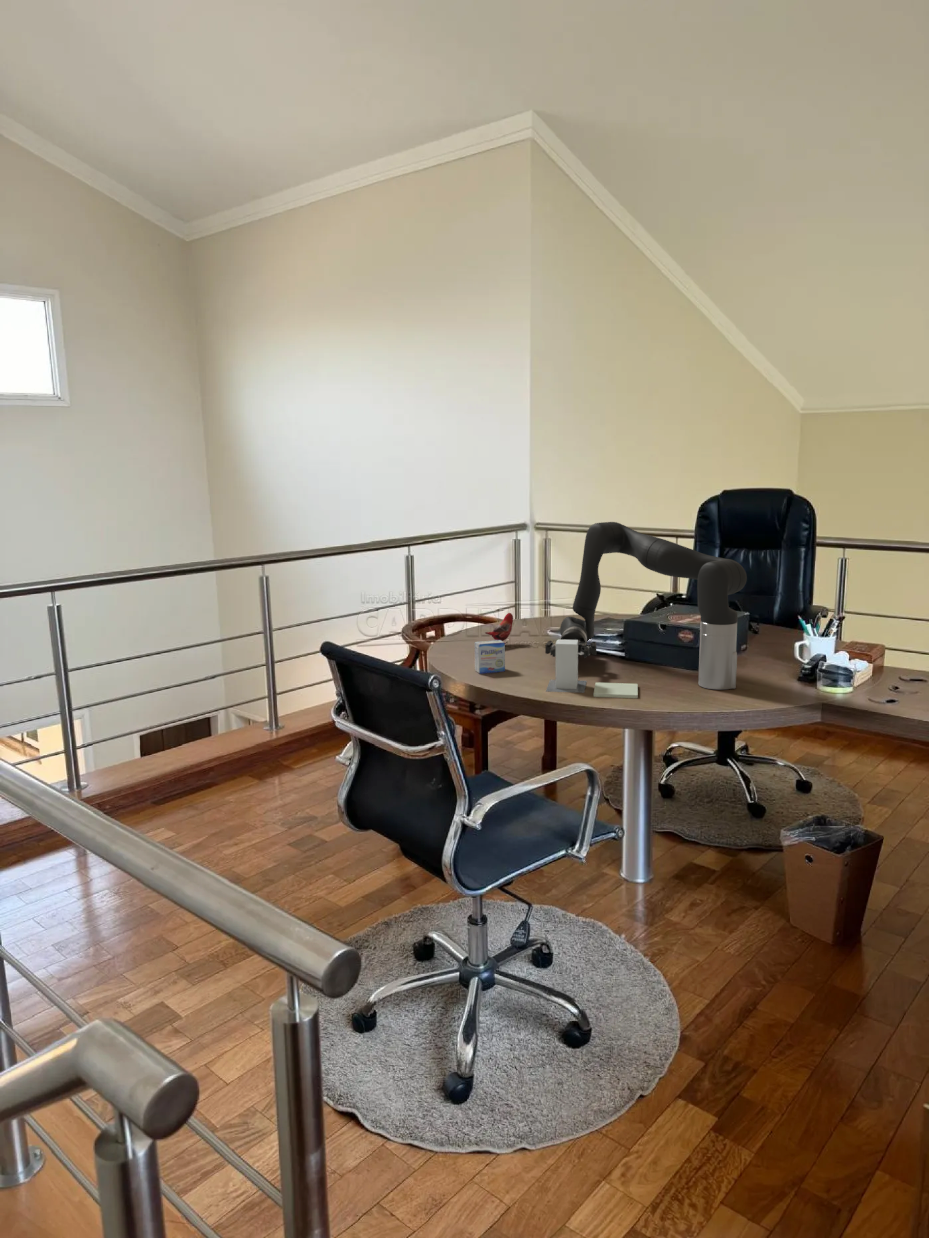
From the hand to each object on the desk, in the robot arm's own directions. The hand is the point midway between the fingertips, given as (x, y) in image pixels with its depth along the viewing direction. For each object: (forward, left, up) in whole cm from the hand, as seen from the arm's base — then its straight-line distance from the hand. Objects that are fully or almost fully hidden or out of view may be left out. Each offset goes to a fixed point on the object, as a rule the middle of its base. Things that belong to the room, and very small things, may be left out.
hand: (569, 653), depth 238 cm
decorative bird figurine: (+25, -37, -7) cm, 45 cm away
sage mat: (-13, +13, -7) cm, 19 cm away
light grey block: (0, +9, -7) cm, 11 cm away
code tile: (0, +9, -7) cm, 11 cm away
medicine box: (+23, -5, -7) cm, 25 cm away
